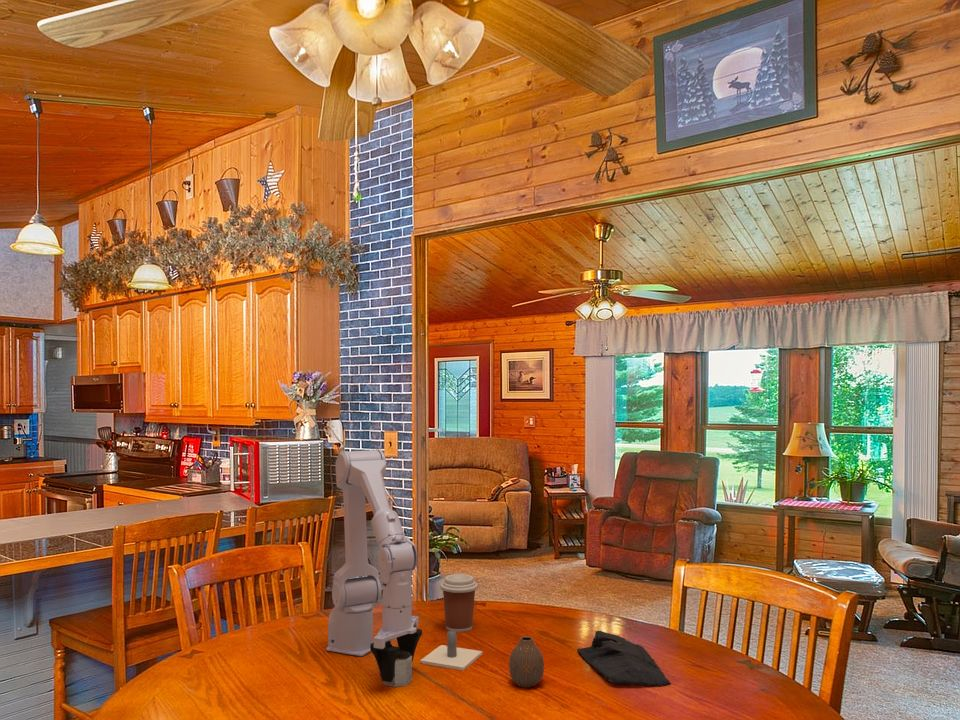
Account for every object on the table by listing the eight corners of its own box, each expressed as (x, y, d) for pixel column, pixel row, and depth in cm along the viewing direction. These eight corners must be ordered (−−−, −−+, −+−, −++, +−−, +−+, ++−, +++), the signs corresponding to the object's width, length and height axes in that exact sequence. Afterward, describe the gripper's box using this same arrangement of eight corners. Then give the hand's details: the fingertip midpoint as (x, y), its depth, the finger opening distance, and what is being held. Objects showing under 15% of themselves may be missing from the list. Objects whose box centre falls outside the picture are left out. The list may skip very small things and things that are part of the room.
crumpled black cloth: (599, 692, 140) (599, 667, 141) (574, 651, 162) (574, 629, 162) (676, 689, 142) (676, 664, 142) (641, 648, 164) (641, 627, 164)
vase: (520, 693, 139) (520, 646, 139) (502, 680, 145) (502, 635, 145) (551, 686, 142) (550, 640, 142) (532, 674, 148) (532, 630, 148)
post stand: (420, 663, 154) (420, 636, 154) (441, 647, 163) (441, 622, 163) (463, 670, 150) (463, 642, 150) (482, 654, 159) (482, 628, 159)
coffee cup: (439, 622, 180) (439, 573, 181) (475, 620, 181) (475, 572, 182) (441, 634, 171) (441, 582, 172) (479, 633, 172) (479, 581, 173)
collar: (377, 683, 143) (377, 658, 143) (391, 673, 148) (391, 648, 148) (402, 688, 141) (402, 662, 141) (415, 678, 146) (415, 652, 146)
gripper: (396, 617, 137) (396, 691, 136) (431, 596, 150) (431, 663, 149) (364, 612, 139) (363, 684, 139) (401, 592, 153) (401, 658, 152)
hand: (396, 673), depth 144 cm, fingers open, 7 cm apart
